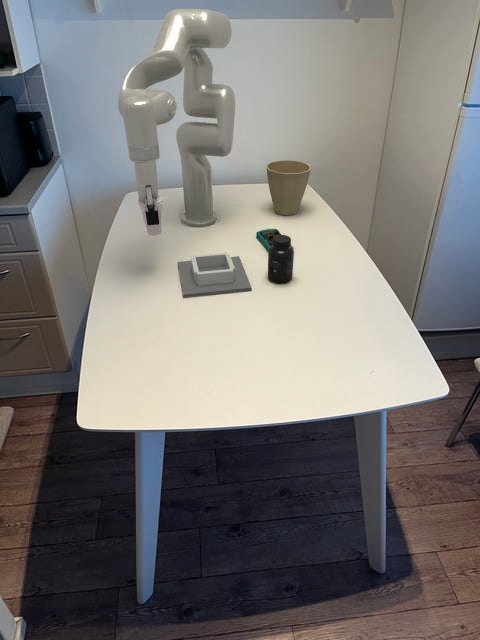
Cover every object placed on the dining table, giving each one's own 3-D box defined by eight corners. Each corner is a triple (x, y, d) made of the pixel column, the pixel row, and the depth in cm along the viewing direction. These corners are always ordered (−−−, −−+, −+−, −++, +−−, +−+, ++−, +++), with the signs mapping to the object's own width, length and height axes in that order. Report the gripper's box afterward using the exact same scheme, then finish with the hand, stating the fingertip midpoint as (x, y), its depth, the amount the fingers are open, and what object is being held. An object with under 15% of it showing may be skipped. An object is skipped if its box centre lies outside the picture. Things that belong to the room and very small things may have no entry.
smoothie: (147, 239, 130) (140, 190, 122) (139, 230, 135) (132, 181, 126) (169, 234, 133) (164, 185, 124) (161, 225, 137) (155, 176, 129)
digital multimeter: (276, 234, 158) (277, 226, 157) (294, 255, 147) (294, 246, 145) (255, 238, 157) (255, 229, 155) (271, 258, 145) (271, 250, 143)
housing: (177, 264, 141) (176, 250, 138) (239, 259, 144) (238, 245, 141) (183, 297, 127) (182, 282, 124) (251, 290, 129) (251, 276, 127)
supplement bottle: (262, 278, 135) (263, 238, 128) (278, 269, 139) (279, 230, 132) (281, 287, 131) (283, 246, 124) (297, 277, 135) (300, 238, 128)
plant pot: (309, 219, 167) (313, 173, 158) (265, 219, 167) (267, 173, 158) (305, 203, 179) (308, 159, 170) (264, 203, 179) (265, 159, 170)
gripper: (128, 142, 127) (138, 207, 138) (128, 164, 113) (139, 235, 124) (157, 140, 128) (164, 204, 139) (161, 162, 114) (169, 232, 125)
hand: (152, 218), depth 131 cm, fingers closed on smoothie, 5 cm apart
